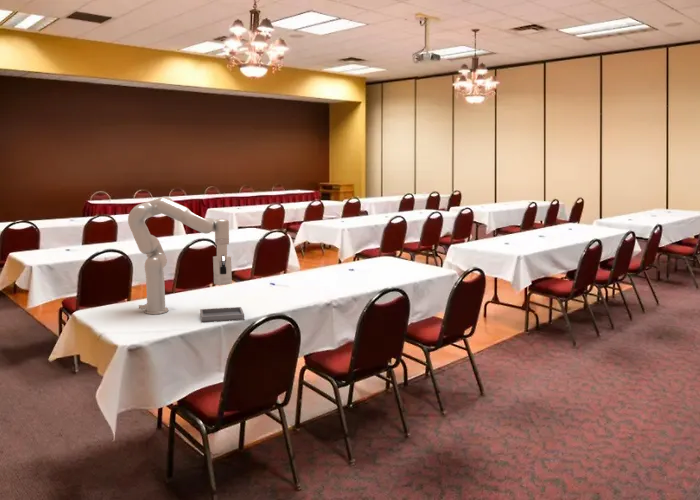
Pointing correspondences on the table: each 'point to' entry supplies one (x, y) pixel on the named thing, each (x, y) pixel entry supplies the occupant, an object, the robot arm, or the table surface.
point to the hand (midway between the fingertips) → (222, 272)
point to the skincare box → (222, 278)
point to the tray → (221, 314)
